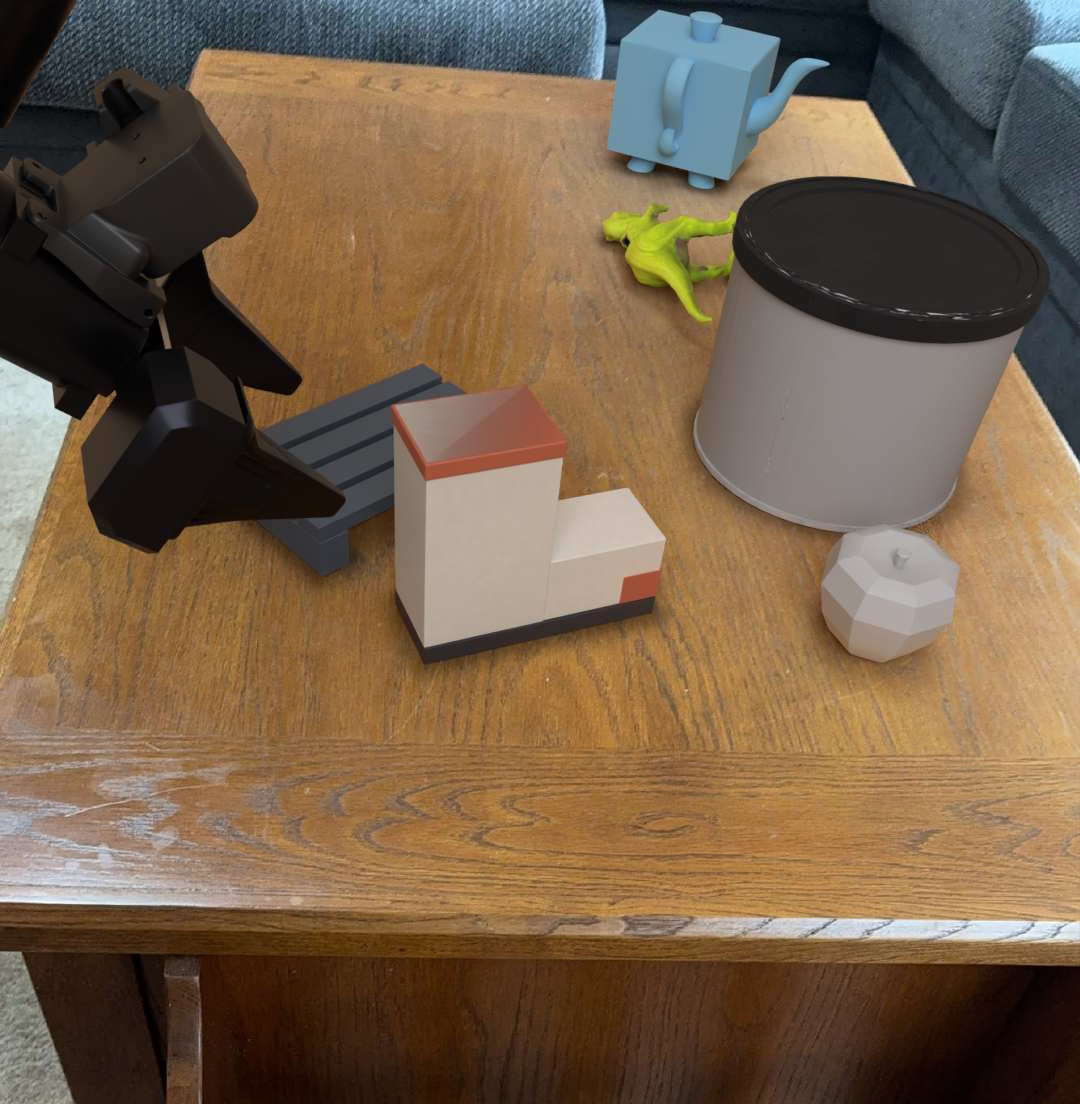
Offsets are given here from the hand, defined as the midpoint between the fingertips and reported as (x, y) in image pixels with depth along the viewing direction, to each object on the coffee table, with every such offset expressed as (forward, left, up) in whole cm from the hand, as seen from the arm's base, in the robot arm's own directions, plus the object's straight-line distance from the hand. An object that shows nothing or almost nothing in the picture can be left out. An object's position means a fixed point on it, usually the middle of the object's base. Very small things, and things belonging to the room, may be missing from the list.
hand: (317, 443), depth 48 cm
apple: (+29, +10, -15) cm, 34 cm away
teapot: (+17, +75, -15) cm, 78 cm away
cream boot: (+9, +8, -15) cm, 19 cm away
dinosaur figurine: (+14, +50, -15) cm, 54 cm away
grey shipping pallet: (-2, +17, -15) cm, 22 cm away
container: (+27, +29, -15) cm, 42 cm away
